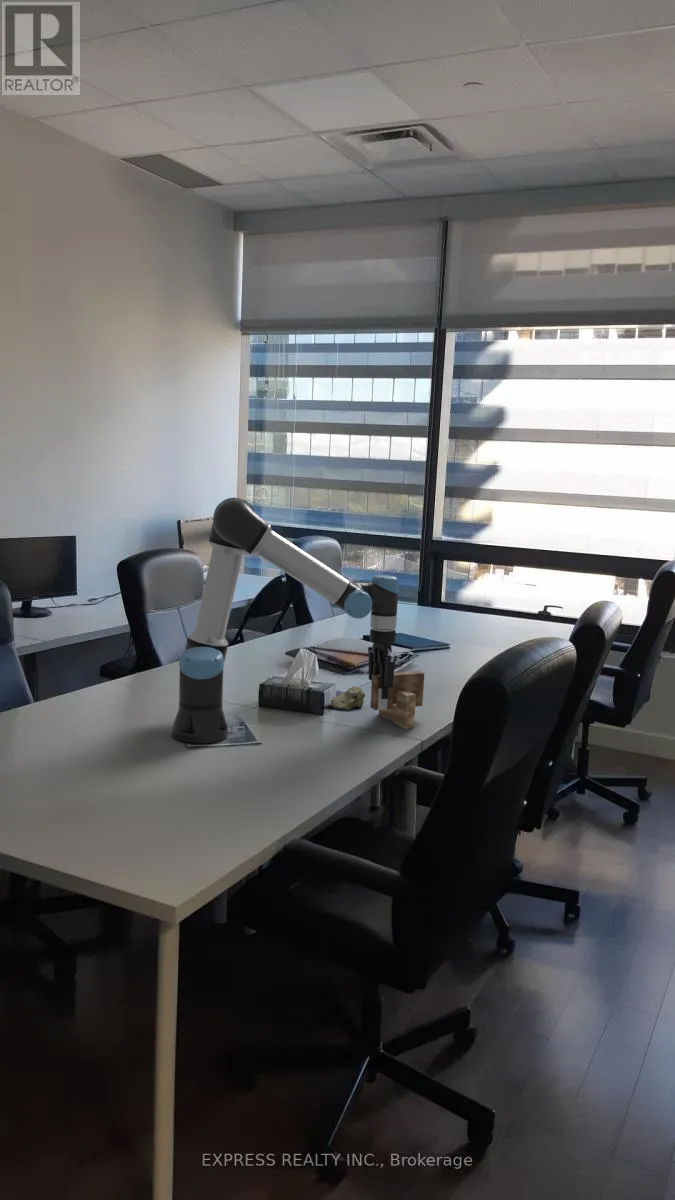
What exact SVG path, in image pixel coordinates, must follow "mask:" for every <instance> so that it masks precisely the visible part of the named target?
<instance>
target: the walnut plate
mask: <svg viewBox="0 0 675 1200" xmlns="http://www.w3.org/2000/svg"><path fill="white" fill-rule="evenodd" d="M424 685H425V672H423V671H421V670H413V671H412V670H411V671H400V672H399V671H398V672H394V679H393V687H389V688H388V698H387V709H392V707H393V692H397V690H407V691H409V692H411V693H413V694H415V695H416V702H415V707H423V701H424V689H425V688H424V687H425V686H424ZM378 686H380V674H372V682H371V691H370V708H371V709H373V710H374V711H379V710H378V691H379V688H378Z"/></svg>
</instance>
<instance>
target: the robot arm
mask: <svg viewBox="0 0 675 1200" xmlns="http://www.w3.org/2000/svg"><path fill="white" fill-rule="evenodd" d="M210 529H211V530H210V532H209V539H208V543H209V544H210V547H211V549H212V550H211V553H210V559H209V563H208V569H207V572H206V576H205V577H206V578H205V582H204V586H203V590H202V591H203V592H202V596H201V601H200V604H199V609H198V613H197V614H198V615H197V619H196V623H195V628H194V630H193V631H192V632H190V633H189V634H188V635H187V640H186V644H185V648H184V651H182V653H181V654H180V657H179V663H178V667H179V689H178V690H179V691H178V693H179V694H178V695H179V697H178V699H179V700H178V710H177V712H176V715H175V717H174V718H175V719H174V721H173V724H172V728H171V737H172V738H173V739H174V740H177V741H179V742H182V743H186V742H191V743H190V744H195V743H202V744H203V743H205V744H213V743H217V742H221V740H222V741H223V740H225V738H226V737H227V736H229V727H228V723H227V719H226V716H225V713H224V709H223V698H224V697H223V694H224V693H223V691H224V667H225V661H226V657H227V654H228V653H227V652H228V648H229V642H228V640H227V638H226V632H227V627H228V623H229V619H230V615H231V610H232V606H233V605H232V604H233V602H234V601H233V600H234V595H235V591H236V588H237V583H238V579H239V573H240V569H241V565H242V560H243V556H244V555H245V554H246V553H248V554H249V555H251V556H252V555H258V556H259V557H261V558H262V559H263V560H265V561H266V562H269V563H270V564H271V565H273V566H275V567H277V568H278V569H279V570H281V571H282V572H284V573H286V574H287V575H289V576H290V577H292V578H293V579H295V580H296V581H298V582H299V583H301V584H302V585H304V586H306V588H307V587H308V589H310V590H312V591H313V592H315V593H317V594H318V595H320V596H321V597H323V598H324V599H326V600H328V601H329V603H330V607H332V608H336V609H341V610H342V611H344V612H345V613H346V614H347V615H348V616H349V617H351V618H353V619H363V618H366V617H367V616H368V615H369V614H370V625H369V627H370V628H371V629H369V642H371V643H372V646H368V647H367V652H368V681H370V682H371V683H372V674H380V686H378V688H379V691H378V710H377V711H379V710H382V709H387V698H388V688H389V687H393V679H394V673H395V668H396V661H397V659H398V658H397V654H393V653H392V652H393V649H392V645H393V644H395V643H396V640H397V639H396V637H397V631H396V630H395V629H396V628H397V620H398V617H397V615H398V602H399V601H398V600H399V579H398V578H397V577H396V576H394V575H390V574H389V575H388V574H377V575H373V577H372V580H371V581H369V582H360V581H359V582H357V581H350V580H348V579H346V578H345V577H344V576H342V575H340V574H339V573H337V572H336V571H335V570H333V569H331V568H330V567H328V566H327V565H326V564H324V563H322V562H321V561H319V560H318V559H316V558H315V557H313V556H312V555H311V554H309V553H307V552H306V551H304V550H303V549H301V548H300V547H298V546H297V545H295V544H294V543H292V542H291V541H289V540H287V539H286V538H284V537H283V536H282V535H280V534H278V533H277V532H276V531H274V530H272V527H271V523H268V521H266V520H264V519H263V518H262V517H261V516H260V515H258V514H257V512H256V511H255V509H254V507H253V506H252V504H251V503H249V502H248V501H247V500H245V499H242V498H239V497H229V498H226V499H224V500H222V501H221V502H219V503H218V504H217V506H216V507H215V510H214V512H213V519H212V524H211V528H210ZM227 738H228V737H227ZM227 738H226V739H227ZM202 744H201V745H202ZM203 745H204V744H203Z"/></svg>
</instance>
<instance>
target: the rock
mask: <svg viewBox="0 0 675 1200" xmlns="http://www.w3.org/2000/svg"><path fill="white" fill-rule="evenodd" d="M334 697H335V698H332V697H331V698H332V700H331V707H332V709H335V710H339V711H350V710H352V709H353V710H354V709H358V708H362V707H363V705H364V699H365V697H366V693H365V692H364V691H363V689H362V688H361V687H359V686H356V685H355V686H352V687H350V688H348V689H347V690H346V691H344V692H341V693H339V694H338V695H337V696H334ZM331 707H330V708H331Z"/></svg>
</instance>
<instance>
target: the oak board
mask: <svg viewBox="0 0 675 1200" xmlns="http://www.w3.org/2000/svg"><path fill="white" fill-rule="evenodd" d="M415 702H416V695H415V694H413V693H411V692H409V691H407V690H397V692H393V707H392V709H382V710H378V715H379V716H381V717H384V718H385V719H387V720H389V721H390V722H392V723H393V724H395V725H397V726H398V727H401V728H402V729H404V730H410V728H411V729H414V728H415V718H416V717H415V714H416V706H415ZM408 728H409V729H408Z"/></svg>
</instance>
